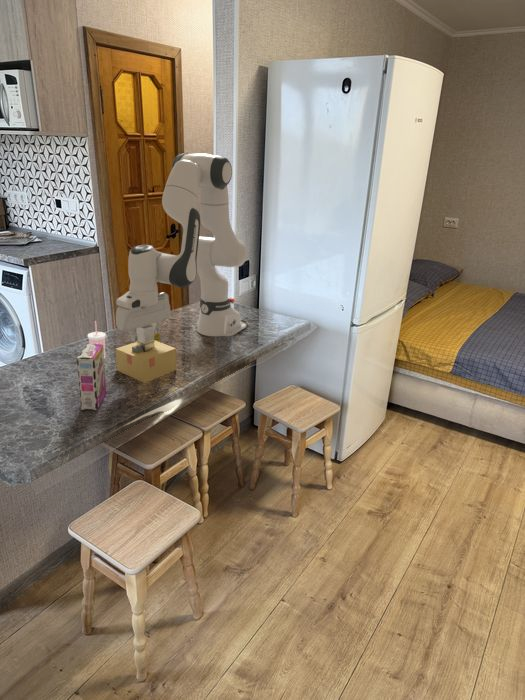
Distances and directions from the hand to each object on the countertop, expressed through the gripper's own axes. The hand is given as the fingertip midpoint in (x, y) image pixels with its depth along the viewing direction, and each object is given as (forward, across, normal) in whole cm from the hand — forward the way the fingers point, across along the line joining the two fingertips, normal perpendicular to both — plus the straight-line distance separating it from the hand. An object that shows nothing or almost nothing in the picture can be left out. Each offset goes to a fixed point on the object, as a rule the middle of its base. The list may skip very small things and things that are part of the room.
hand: (145, 337), depth 161 cm
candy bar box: (+12, +25, +6) cm, 29 cm away
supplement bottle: (+12, -14, -14) cm, 23 cm away
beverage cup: (+12, +5, -20) cm, 24 cm away
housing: (+12, 0, 0) cm, 12 cm away
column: (+12, 0, 0) cm, 12 cm away
